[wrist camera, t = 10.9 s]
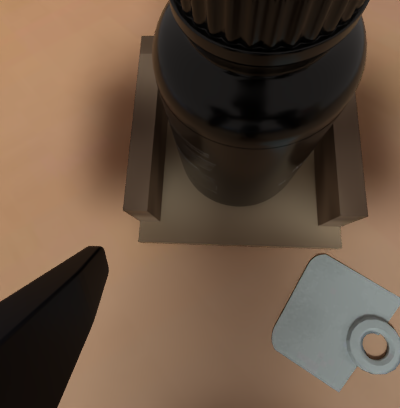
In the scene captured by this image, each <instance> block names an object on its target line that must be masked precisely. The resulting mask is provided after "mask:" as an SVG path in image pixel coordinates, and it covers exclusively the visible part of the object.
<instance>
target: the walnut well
mask: <svg viewBox="0 0 400 408" xmlns="http://www.w3.org/2000/svg"><path fill="white" fill-rule="evenodd" d="M153 39H154V36H142V38H141V47H140V57H139V66H138V75H137V84H136V94H135V103H134V112H133V121H132V131H131V140H130V149H129V159H128V168H127V177H126V186H125V196H124V205H123V211H125V212H126V213H128V214H130V215H131V216H133V217H134V218H136V219H138V220H139V221H140V230H139V240H138V242H141V243H168V244H197V245H227V246H256V247H286V248H315V249H342V243H341V230H340V227H341V226H344V225H346V224H349V223H352V222H354V221H357V220H360V219H362V218H365V217H368V211H367V202H366V192H365V182H364V173H363V163H362V153H361V144H360V134H359V124H358V115H357V105H356V96H355V92H354V94H353V96H352V97H351V99H350V100H349V102H348V104H347V105H346V107H345V108H344V110H343V111H342V112H341V114H340V115H339V116H338V118H337V119H336V120H335V122H334V123H333V124H332V126H331V127H330V128H329V130H328V131H327V132H326V134H325V135H324V136H323V138H322V139H321V140H320V142H319V143H318V144H317V146H316V147H315V148H314V150H313V151H312V152H311V153H310V155H309V156H308V157H307V159H306V160H305V161H304V163H303V164H302V165H301V167H300V168H299V169H298V171H297V172H296V173H295V175H294V176H293V177H292V179H291V180H290V181H289V182H288V184H287V185H286V186H285V187H284V188H283V189H282V190H281V191H280V192H279V193H278V194H276V195H275V196H274V197H272V198H270V199H269V200H267V201H264V202H262V203H259V204H256V205H252V206H245V207H235V206H228V205H223V204H220V203H217V202H215V201H213V200H211V199H209V198H207V197H206V196H204V195H203V194H202V193H200V192H199V191H198V190H197V189H196V188H195V186H194V185H193V184H192V183H191V181H190V180H189V178H188V176H187V174H186V172H185V170H184V167H183V164H182V161H181V158H180V155H179V152H178V149H177V146H176V143H175V140H174V136H173V133H172V130H171V127H170V124H169V121H168V118H167V115H166V112H165V109H164V105H163V102H162V99H161V96H160V93H159V90H158V87H157V83H156V79H155V75H154V70H153V63H152V46H153Z"/></svg>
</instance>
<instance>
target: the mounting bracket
mask: <svg viewBox="0 0 400 408" xmlns="http://www.w3.org/2000/svg"><path fill="white" fill-rule="evenodd" d="M399 306H400V297H398V296H396V295H394V294H393V293H391V292H389V291H388V290H386V289H384V288H382V287H381V286H379V285H377V284H376V283H374V282H372V281H370V280H369V279H367V278H365V277H364V276H362V275H360V274H359V273H357V272H355V271H353V270H352V269H350V268H348V267H347V266H345V265H343V264H341V263H340V262H338V261H336V260H335V259H333V258H331V257H329V256H328V255H326V254H325V255H318V256H316V257H314V258H313V259H312V260H311V261H310V262H309V264H308V266H307V267H306V269H305V271H304V273H303V275H302V277H301V278H300V280H299V282H298V284H297V286H296V288H295V290H294V291H293V293H292V295H291V297H290V299H289V301H288V303H287V304H286V306H285V308H284V310H283V312H282V314H281V315H280V317H279V319H278V321H277V323H276V325H275V327H274V329H273V332H272V344H273V346H274V349H275V350H276V351H278V352H279V353H281V354H282V355H284V356H285V357H287V358H288V359H290V360H291V361H293V362H294V363H296V364H297V365H299V366H300V367H302V368H303V369H305V370H306V371H308V372H309V373H311V374H312V375H314V376H315V377H317V378H318V379H320V380H321V381H323V382H324V383H326V384H327V385H329V386H330V387H332V388H333V389H335V390H336V391H338V392H339V391H340V390H341V389H342V387H343V386H344V384H345V383H346V381H347V380H348V379H349V377H350V376H351V374H352V373H353V371H354V370H355V369H356V367H357V366H358V367H359V368H361V369H362V370H364V371H366V372H369V373H371V374H387V373H389V372H391V371H393V370H395V369H396V367H397V366H398V365H399V363H400V338H399V336H398V335H397V333H396V331H395V330H394V329H393V328H392V327H391V326H390V325H389V324H388V321H389V320H390V318H391V317H392V316H393V314H394V313H395V311H396V310H397V308H398V307H399ZM370 333H375V334H377V335H379V334H381V335H382V336H384V338H385V340H386V341H387V346H388V350H387V353H386V355H385V356H384V357H383V358H381V359H379V360H373V359H370V358H369V357H368V356H366V355H365V354H366V352H365V350H364V349H363V345H362V342H363V338H364V337H365V336H366V335H367V334H370Z"/></svg>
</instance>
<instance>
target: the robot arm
mask: <svg viewBox="0 0 400 408" xmlns="http://www.w3.org/2000/svg"><path fill="white" fill-rule="evenodd" d="M108 272H109V267H108V263H107V259H106V255H105V251H104V249H103V247H101V246H88V247H86V248H85V249H83V250H81V251H80V252H78V253H77V254H75V255H74V256H72V257H70V258H69V259H67V260H66V261H64V262H62V263H61V264H59V265H58V266H56V267H55V268H53V269H51V270H50V271H48V272H47V273H45V274H43V275H42V276H40V277H39V278H37V279H36V280H34V281H32V282H31V283H29V284H28V285H26V286H24V287H23V288H21V289H20V290H18V291H17V292H15V293H13V294H12V295H10V296H9V297H7V298H5V299H4V300H2V301H1V302H0V408H57V407H58V405H59V402H60V400H61V398H62V395H63V393H64V391H65V388H66V386H67V384H68V381H69V379H70V377H71V374H72V372H73V369H74V367H75V365H76V362H77V360H78V358H79V355H80V353H81V351H82V348H83V346H84V344H85V341H86V339H87V337H88V334H89V332H90V329H91V327H92V324H93V322H94V319H95V316H96V313H97V309H98V306H99V303H100V300H101V296H102V293H103V290H104V286H105V283H106V280H107V276H108Z"/></svg>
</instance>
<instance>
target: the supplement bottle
mask: <svg viewBox="0 0 400 408" xmlns="http://www.w3.org/2000/svg"><path fill="white" fill-rule="evenodd" d="M368 2H369V0H169V1H168V2H167V4H166V6H165V8H164V10H163V11H162V14H161V16H160V19H159V21H158V24H157V27H156V30H155V34H154V39H153V46H152V63H153V70H154V75H155V79H156V83H157V87H158V90H159V93H160V96H161V99H162V102H163V105H164V109H165V112H166V115H167V118H168V121H169V124H170V127H171V130H172V133H173V136H174V140H175V143H176V146H177V149H178V152H179V155H180V158H181V161H182V164H183V167H184V170H185V172H186V174H187V176H188V178H189V180H190V181H191V183H192V184H193V185H194V186H195V188H196V189H197V190H198V191H199V192H200V193H202V194H203V195H204V196H206V197H207V198H209V199H211V200H213V201H215V202H217V203H220V204H223V205H228V206H235V207H245V206H252V205H256V204H259V203H262V202H264V201H267V200H269V199H270V198H272V197H274V196H275V195H276V194H278V193H279V192H280V191H281V190H282V189H283V188H284V187H285V186H286V185H287V184H288V182H289V181H290V180H291V179H292V177H293V176H294V175H295V173H296V172H297V171H298V169H299V168H300V167H301V165H302V164H303V163H304V161H305V160H306V159H307V157H308V156H309V155H310V153H311V152H312V151H313V150H314V148H315V147H316V146H317V144H318V143H319V142H320V140H321V139H322V138H323V136H324V135H325V134H326V132H327V131H328V130H329V128H330V127H331V126H332V124H333V123H334V122H335V120H336V119H337V118H338V116H339V115H340V114H341V112H342V111H343V110H344V108H345V107H346V105H347V104H348V102H349V100H350V99H351V97H352V96H353V94H354V92H355V91H356V89H357V87H358V84H359V82H360V80H361V77H362V74H363V71H364V66H365V61H366V51H367V41H366V30H365V25H364V21H363V18H362V13H363V12H364V10H365V8H366V6H367V4H368Z"/></svg>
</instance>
